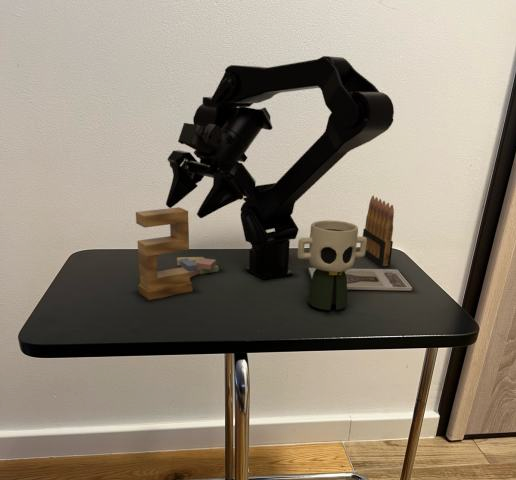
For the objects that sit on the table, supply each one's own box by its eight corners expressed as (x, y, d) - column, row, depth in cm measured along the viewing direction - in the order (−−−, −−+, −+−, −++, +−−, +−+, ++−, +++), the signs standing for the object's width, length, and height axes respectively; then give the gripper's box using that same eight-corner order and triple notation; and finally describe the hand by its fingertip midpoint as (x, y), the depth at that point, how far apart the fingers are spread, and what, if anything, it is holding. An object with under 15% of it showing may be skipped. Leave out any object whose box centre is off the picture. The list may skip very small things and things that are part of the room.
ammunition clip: (360, 251, 115) (367, 194, 110) (368, 251, 116) (375, 194, 111) (381, 267, 106) (389, 205, 101) (389, 267, 107) (398, 205, 101)
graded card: (308, 267, 102) (397, 269, 103) (308, 270, 103) (397, 272, 103) (315, 285, 93) (412, 287, 94) (315, 288, 94) (411, 290, 94)
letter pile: (207, 263, 105) (206, 253, 104) (221, 273, 100) (221, 263, 99) (167, 269, 101) (166, 258, 100) (180, 279, 96) (180, 268, 95)
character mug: (299, 316, 83) (305, 232, 77) (288, 299, 89) (293, 220, 83) (367, 313, 85) (377, 231, 79) (351, 296, 91) (360, 219, 85)
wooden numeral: (181, 284, 94) (178, 206, 88) (192, 291, 91) (191, 211, 85) (138, 292, 90) (132, 211, 84) (148, 300, 87) (143, 216, 81)
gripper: (174, 101, 95) (123, 171, 93) (244, 108, 83) (186, 189, 81) (210, 146, 103) (163, 212, 101) (278, 159, 91) (226, 233, 89)
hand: (182, 211), depth 93 cm, fingers open, 9 cm apart
